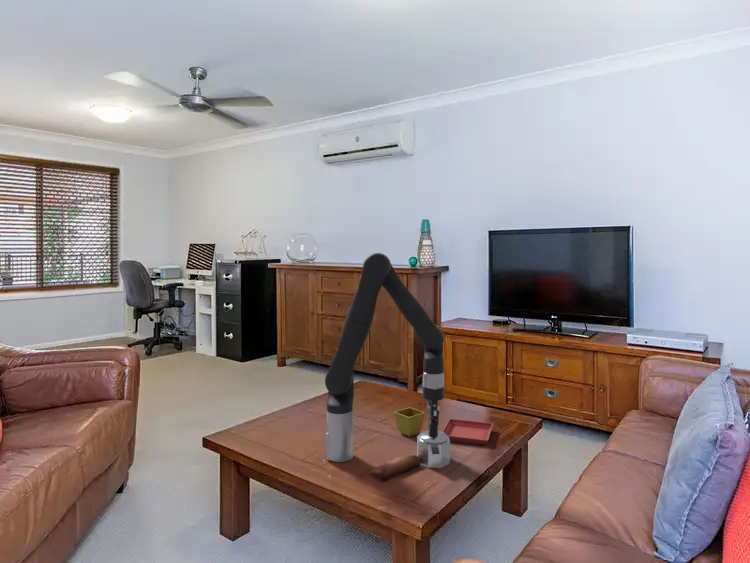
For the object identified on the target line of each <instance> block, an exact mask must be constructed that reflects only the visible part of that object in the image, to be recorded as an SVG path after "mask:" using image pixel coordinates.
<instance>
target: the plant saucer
mask: <svg viewBox="0 0 750 563" xmlns="http://www.w3.org/2000/svg"><path fill="white" fill-rule="evenodd" d="M493 426H494V424H493V423H492V422H490V423H489V422H483V421H472V420H465V419H455V418H449V419H448V421H447V422H446V424H445V426H444V428H443V429H442V431H441V432H444V433H446V434H447V436H448V437H449V440H450V442H455V443H457V442H458V443H463V444H464V443H465V444H471V443H472V444H473V445H479V444H481V445H480V446H484V445H486V444H487V442H489V439H490V435H491V432H492V429H493Z"/></svg>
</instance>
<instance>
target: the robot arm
mask: <svg viewBox="0 0 750 563" xmlns="http://www.w3.org/2000/svg"><path fill="white" fill-rule="evenodd" d="M362 265H363V266H362V268H361V269H362V270H361V274H360V278H359V279H360V280H359V283H358V286H357V289H356V292H355V294H354V296H353V298H352V300H351V302H350V306H349V308H348V310H347V314H346V317H345V320H344V323H343V325H342V328H341V329H342V330H341V332H340V336H339V339H338V340H339V341H338V345H337V349H336V351H335V354H334V357H333V360H332V361H331V365H330V367H329V369H328V371H327V373H326V375H325V378H324V382H325V383H324V384H325V388H326V389H327V392H328V395H327V401H326V434H325V435H326V436H325V437H326V438H325V439H326V445H325V446H326V461H331V462H334V463H335V462H336V463H343V462H347V461H351V460H352V459H353V458H354V419H353V418H354V415H353V414H354V413H353V412H354V407H353V406H354V396H355V395H354V394H355V393H354V389H355V388H354V387H355V386H354V385H355V384H354V380H355V379H354V378H355V377H354V373H353V371H354V367H355V363H356V361H357V358H358V356H359V354H360V352H361V350H362V349H363V347H364V344H365V342H366V340H367V339H368V335H369V333H370V330H371V327H372V323H373V320H374V317H375V313H376V307H377V299H378V296H379V294H380V292H381V291H380V290H381V288H384V290H385V291H386V292H387V293H388V295H389V296H390V297H391V299H392V301H393V302H394V304H395V306H396V308H397V309H398V310H399V312H400V313H401V315H402V316H403V317H404V319H405V320H406V321H407V322H408V324H409V325H410V326H411V328H412V329H413V330H414V331H415V333H416V334H417V336H418V337H419V339H420V340H421V342H422V343H423V350H424V351H423V353H424V354H423V355H424V356H423V366H422V368H423V369H422V370H423V372H422V373H423V374H422V398H423V399H424V400H426V401H427V403H426V407H427V416H428V422H429V421H430V425H431V435H437V425H438V426H439V421H440V420H439V418H440V402H439V401H442V400H444V398H445V374H444V365H445V362H444V343H445V336H444V333H443V330H442V329H441V328H439V327H437V326H436V325H435V323H434V322H433V321H432V320H431V318H430V316H429V314H428V313H427V311H426V310H425V309H424V307H423V306H422V305H421V303H420V302H419V301H418V300H417V299H416V297H415V296H414V295H413V294H412V293H411V292H410V290H409V289H408V288H407V286H405V283H403V282H402V280H401V279H400V277H399V275H398V274H397V272H396V271H395V268H394V267H393V265H392V263H391V260H390V259H389V257H388V255H385V254H384V253H380V252H375V253H372V254H369V255H368V256H367V257H366V258H365V260H364V262H363V264H362ZM433 420H436V421H433Z"/></svg>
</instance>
